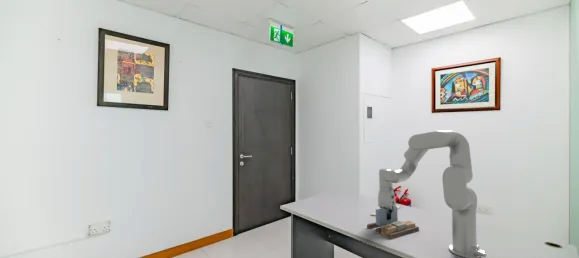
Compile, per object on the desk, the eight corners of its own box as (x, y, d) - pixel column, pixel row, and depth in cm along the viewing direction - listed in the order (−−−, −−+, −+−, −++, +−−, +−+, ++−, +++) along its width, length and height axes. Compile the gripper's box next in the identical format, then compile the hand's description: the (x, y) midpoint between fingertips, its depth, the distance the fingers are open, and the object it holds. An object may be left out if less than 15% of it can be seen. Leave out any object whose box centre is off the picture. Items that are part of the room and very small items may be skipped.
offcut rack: (418, 230, 144) (418, 226, 144) (390, 238, 133) (390, 235, 133) (394, 220, 159) (394, 217, 159) (367, 227, 149) (367, 224, 149)
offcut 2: (406, 232, 142) (406, 223, 142) (397, 234, 139) (397, 225, 139) (399, 229, 146) (398, 220, 146) (390, 231, 143) (390, 223, 143)
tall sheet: (397, 221, 152) (397, 206, 153) (379, 225, 145) (378, 210, 145) (394, 219, 155) (393, 205, 155) (376, 224, 147) (375, 209, 148)
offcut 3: (415, 229, 145) (415, 223, 145) (406, 231, 142) (406, 225, 142) (408, 226, 150) (408, 220, 150) (399, 228, 147) (399, 222, 147)
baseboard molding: (368, 215, 172) (385, 219, 164) (368, 211, 172) (384, 215, 164) (385, 205, 195) (400, 208, 187) (385, 201, 195) (400, 204, 187)
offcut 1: (396, 234, 138) (396, 227, 138) (388, 237, 135) (388, 229, 135) (389, 231, 143) (389, 224, 143) (381, 234, 139) (381, 226, 139)
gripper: (401, 190, 145) (402, 221, 144) (380, 185, 159) (380, 214, 159) (392, 192, 142) (393, 224, 141) (371, 187, 156) (372, 216, 155)
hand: (386, 218), depth 150 cm, fingers closed on tall sheet, 2 cm apart
